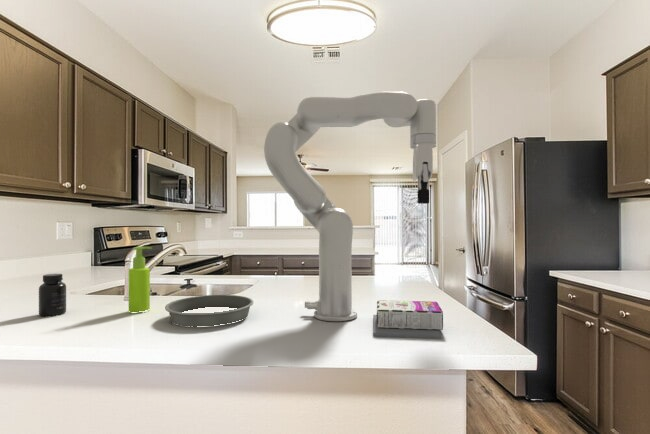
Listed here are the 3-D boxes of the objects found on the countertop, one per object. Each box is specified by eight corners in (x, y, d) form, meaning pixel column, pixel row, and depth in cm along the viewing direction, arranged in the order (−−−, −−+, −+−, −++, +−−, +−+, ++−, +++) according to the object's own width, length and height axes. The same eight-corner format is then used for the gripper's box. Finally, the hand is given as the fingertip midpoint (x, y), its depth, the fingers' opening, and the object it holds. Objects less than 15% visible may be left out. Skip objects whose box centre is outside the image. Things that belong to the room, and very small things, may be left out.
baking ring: (144, 326, 103) (144, 309, 103) (198, 306, 127) (198, 292, 127) (226, 333, 97) (226, 315, 97) (267, 311, 120) (267, 296, 120)
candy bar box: (437, 319, 106) (377, 316, 108) (437, 301, 106) (377, 298, 108) (443, 331, 95) (376, 328, 97) (443, 311, 94) (376, 308, 97)
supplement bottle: (33, 315, 114) (33, 275, 114) (56, 310, 120) (56, 272, 121) (48, 318, 112) (48, 276, 112) (71, 312, 118) (71, 273, 118)
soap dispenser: (156, 309, 121) (156, 246, 121) (135, 314, 115) (135, 247, 116) (145, 307, 124) (145, 245, 125) (124, 311, 119) (124, 247, 119)
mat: (373, 336, 93) (373, 332, 93) (373, 317, 111) (373, 314, 111) (441, 338, 91) (441, 335, 91) (430, 319, 109) (430, 316, 109)
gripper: (408, 147, 123) (408, 204, 123) (412, 137, 108) (413, 202, 108) (432, 146, 122) (432, 204, 122) (440, 136, 108) (440, 202, 107)
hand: (423, 203), depth 115 cm, fingers closed
